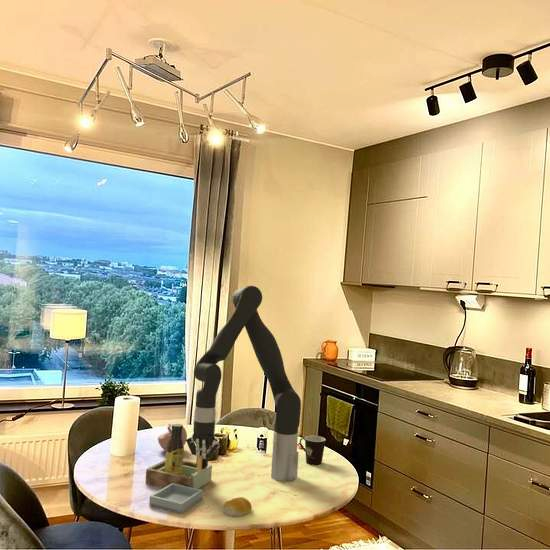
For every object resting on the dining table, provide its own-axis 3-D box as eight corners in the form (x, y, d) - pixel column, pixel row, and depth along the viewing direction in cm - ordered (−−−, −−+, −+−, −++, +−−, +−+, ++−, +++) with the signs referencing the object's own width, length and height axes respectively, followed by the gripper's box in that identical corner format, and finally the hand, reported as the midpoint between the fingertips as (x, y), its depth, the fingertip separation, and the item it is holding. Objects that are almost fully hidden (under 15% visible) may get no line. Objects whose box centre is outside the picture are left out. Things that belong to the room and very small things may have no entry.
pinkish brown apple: (161, 445, 227) (163, 419, 227) (188, 447, 227) (190, 421, 227) (153, 454, 215) (155, 426, 215) (182, 456, 215) (184, 428, 215)
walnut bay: (211, 479, 191) (211, 466, 192) (189, 493, 178) (190, 479, 178) (169, 470, 198) (170, 457, 198) (145, 483, 184) (146, 469, 185)
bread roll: (255, 510, 168) (256, 498, 168) (238, 519, 161) (238, 506, 161) (236, 503, 173) (236, 491, 173) (217, 511, 166) (218, 499, 166)
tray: (202, 499, 174) (202, 490, 174) (181, 513, 162) (181, 504, 162) (171, 491, 178) (172, 483, 178) (149, 505, 167) (149, 496, 167)
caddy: (210, 480, 190) (212, 451, 190) (193, 491, 179) (195, 461, 179) (170, 471, 196) (172, 443, 197) (151, 482, 185) (153, 452, 185)
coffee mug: (327, 465, 214) (329, 441, 214) (308, 467, 211) (310, 442, 211) (315, 456, 225) (316, 433, 225) (297, 457, 222) (298, 434, 222)
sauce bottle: (171, 485, 184) (175, 428, 185) (160, 480, 188) (163, 424, 189) (185, 480, 190) (189, 425, 190) (174, 475, 193) (177, 421, 194)
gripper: (226, 419, 186) (223, 468, 186) (193, 413, 191) (190, 461, 191) (216, 424, 179) (213, 475, 179) (182, 418, 184) (179, 467, 184)
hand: (201, 468), depth 185 cm, fingers closed
